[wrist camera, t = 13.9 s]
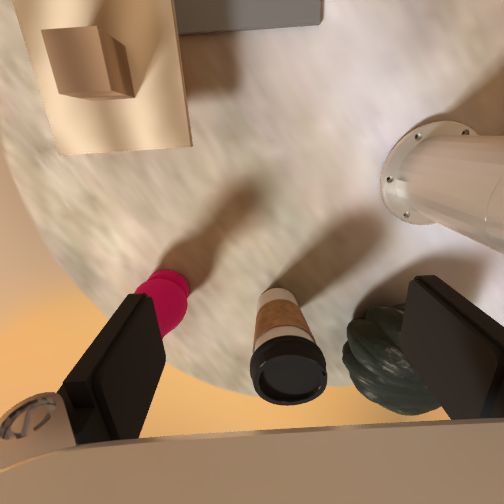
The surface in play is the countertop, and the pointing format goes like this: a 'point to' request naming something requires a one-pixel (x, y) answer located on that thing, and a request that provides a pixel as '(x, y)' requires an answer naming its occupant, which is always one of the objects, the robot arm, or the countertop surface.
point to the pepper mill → (167, 298)
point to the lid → (108, 73)
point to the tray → (244, 15)
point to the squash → (385, 363)
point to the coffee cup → (285, 352)
